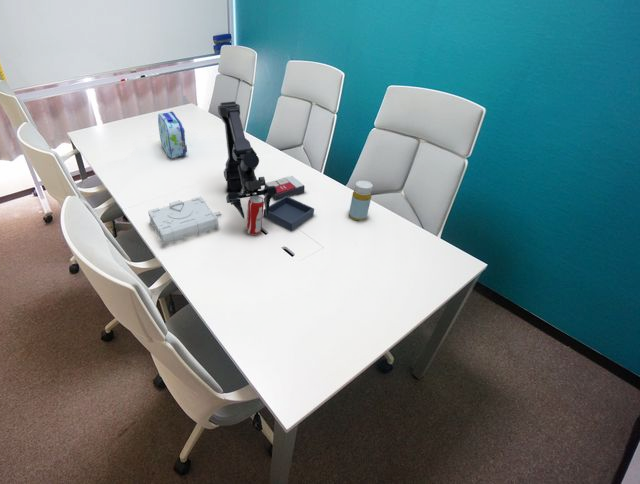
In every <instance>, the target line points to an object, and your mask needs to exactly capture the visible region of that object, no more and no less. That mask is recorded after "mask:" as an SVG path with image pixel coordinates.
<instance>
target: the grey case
mask: <svg viewBox="0 0 640 484" xmlns="http://www.w3.org/2000/svg"><path fill="white" fill-rule="evenodd" d="M147 213H148V216H149V223H150V225H151V227H152V228H153V229H154V230H155V232H156V234H157V237H158V238H159V240H160V242H161V244H162V245H163V246H167V244H170V243H176V242H178V241H182V240H185V239H186V238H188V237H192V236H195V235H201V234H204V233H207V232H210V231H211V230H213V229H214V230H217V229H218V228H219V219H218V217H217V216H220V215H222V212H221V211H220V210H219V211H216V212H214V211H213V210H212V208H210V207H209V205H208V204H207V203H206V201H205V200H204V198H203V197H202V196H201V195H200V196H196V197H193V198H191V199H189V200H185V201H182V200H175V201H172V202H169V204H168V205H167V206H163V207H160V208H159V207H158V208H153V209H149V210H147Z"/></svg>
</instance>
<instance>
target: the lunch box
mask: <svg viewBox="0 0 640 484" xmlns="http://www.w3.org/2000/svg"><path fill="white" fill-rule="evenodd" d="M157 122H158V123H157V125H158V133H159V139H160V144H161V146H162V148H163V150H164V152H165V153H166V155H167V157H169V158H170V159H175V158H177V157H186V155H187V152H188V146H187V144H186V134H185V133H186V131H185V127H184V126H183V123H182V121H181V120H180V119H179V118H178V117H177V116H176V114H175V112H174V111H172V110H171V111H168V112H162V113H158V114H157Z"/></svg>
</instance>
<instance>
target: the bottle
mask: <svg viewBox="0 0 640 484" xmlns="http://www.w3.org/2000/svg"><path fill="white" fill-rule="evenodd" d="M373 186H374V185H373V184H372V182H371V181H368V180H358V181H356V182H355V185H354V190H353V192H352V195H351V200H350V205H349V211H348V216H349V217H350V219H352V220H354V221H358V222H359V221H360V222H361V221H364V220H365V219H367V218H368V213H369V210H370V205H371V200H372V190H373Z"/></svg>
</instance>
